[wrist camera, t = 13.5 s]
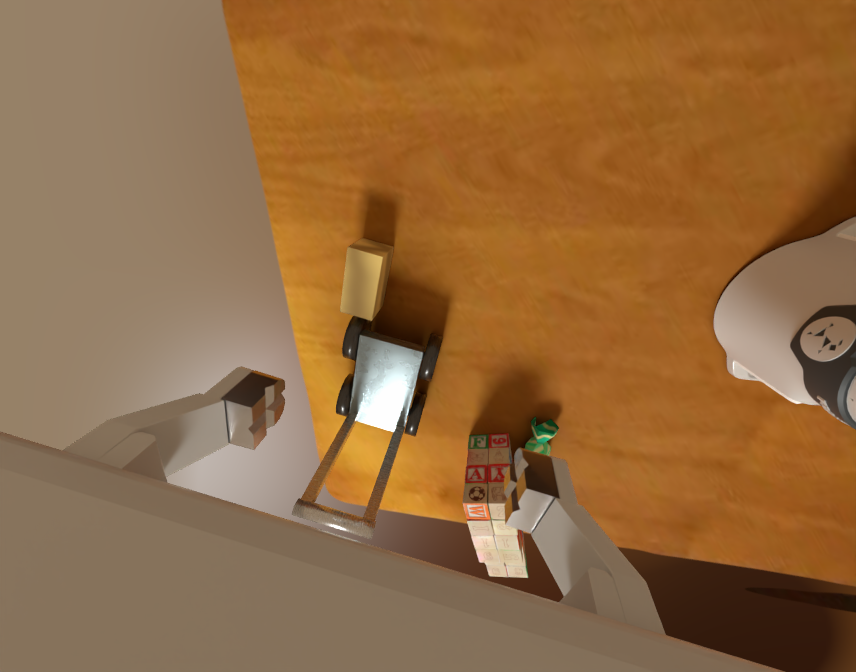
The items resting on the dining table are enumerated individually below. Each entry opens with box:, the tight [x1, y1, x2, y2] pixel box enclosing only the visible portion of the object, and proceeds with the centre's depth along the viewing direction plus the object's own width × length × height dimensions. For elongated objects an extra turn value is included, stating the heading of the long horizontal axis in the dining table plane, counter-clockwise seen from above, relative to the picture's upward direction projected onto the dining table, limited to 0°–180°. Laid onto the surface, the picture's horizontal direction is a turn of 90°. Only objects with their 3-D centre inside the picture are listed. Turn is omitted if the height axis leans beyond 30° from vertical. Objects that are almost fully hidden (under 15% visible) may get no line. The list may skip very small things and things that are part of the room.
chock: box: [340, 238, 394, 321], centre depth 40 cm, size 4×8×5 cm, turn 167°
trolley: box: [292, 316, 443, 539], centre depth 39 cm, size 16×12×20 cm
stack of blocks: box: [463, 433, 528, 578], centre depth 51 cm, size 21×6×12 cm, turn 13°
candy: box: [525, 417, 559, 456], centre depth 50 cm, size 12×3×4 cm
